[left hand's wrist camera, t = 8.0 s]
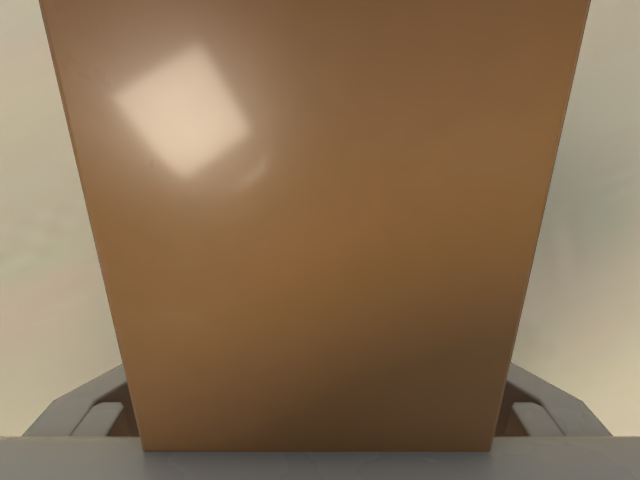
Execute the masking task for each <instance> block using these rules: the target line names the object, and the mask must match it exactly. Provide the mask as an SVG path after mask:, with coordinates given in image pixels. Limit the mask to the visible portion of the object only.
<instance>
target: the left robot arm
mask: <svg viewBox="0 0 640 480" xmlns="http://www.w3.org/2000/svg"><path fill="white" fill-rule="evenodd" d="M0 480H640V436H613V435H612V434H611V433H610V432H609V431H608V430H607V429H606V427H605V426H604V425H603V424H602V423H601V422H600V421H599V419H598V418H597V417H596V416H595V415H594V414H593V413H592V411H591V410H590V409H589V408H588V407H587V406H586V405H585V404H584V402H583V401H581V400H579V399H577V398H576V397H574V396H572V395H570V394H568V393H566V392H564V391H563V390H561V389H559V388H557V387H555V386H553V385H552V384H550V383H548V382H546V381H544V380H542V379H541V378H539V377H537V376H535V375H533V374H531V373H530V372H528V371H526V370H524V369H522V368H520V367H519V366H517V365H515V364H513V363H511V362H510V367H509V371H508V376H507V380H506V385H505V389H504V394H503V398H502V403H501V407H500V412H499V416H498V421H497V425H496V430H495V434H494V439H493V443H492V448H491V451H488V452H145V451H143V448H142V444H141V440H140V435H139V431H138V427H137V423H136V418H135V414H134V410H133V405H132V401H131V397H130V392H129V388H128V384H127V379H126V375H125V371H124V366H123V364H121V365H119V366H117V367H115V368H114V369H112V370H110V371H108V372H106V373H104V374H102V375H101V376H99V377H97V378H95V379H93V380H91V381H89V382H88V383H86V384H84V385H82V386H80V387H78V388H76V389H75V390H73V391H71V392H69V393H67V394H65V395H63V396H62V397H60V398H58V399H56V400H54V401H53V402H52V403H51V404H50V405H49V406H48V408H47V409H46V410H45V411H44V412H43V413H42V414H41V415H40V416H39V417H38V419H37V420H36V421H35V422H34V423H33V424H32V425H31V426H30V427H29V429H28V430H27V431H26V432H25V433H24V434H23V435H22V436H21V437H0Z"/></svg>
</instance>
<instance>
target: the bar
mask: <svg viewBox="0 0 640 480" xmlns="http://www.w3.org/2000/svg"><path fill="white" fill-rule="evenodd" d="M590 2H591V0H39V4H40V8H41V13H42V17H43V21H44V26H45V30H46V34H47V39H48V43H49V47H50V51H51V56H52V60H53V64H54V69H55V73H56V77H57V82H58V86H59V90H60V95H61V99H62V103H63V108H64V112H65V116H66V121H67V125H68V129H69V133H70V138H71V142H72V146H73V151H74V155H75V159H76V164H77V168H78V172H79V177H80V181H81V185H82V190H83V194H84V198H85V202H86V207H87V211H88V215H89V220H90V224H91V228H92V233H93V237H94V241H95V246H96V250H97V254H98V259H99V263H100V267H101V272H102V276H103V280H104V284H105V289H106V293H107V297H108V302H109V306H110V310H111V315H112V319H113V323H114V328H115V332H116V336H117V341H118V345H119V349H120V353H121V358H122V362H123V366H124V371H125V375H126V379H127V384H128V388H129V392H130V397H131V401H132V405H133V410H134V414H135V418H136V423H137V427H138V431H139V435H140V440H141V444H142V448H143V451H145V452H488V451H491V448H492V443H493V439H494V434H495V430H496V425H497V421H498V416H499V412H500V407H501V403H502V398H503V394H504V389H505V385H506V380H507V376H508V371H509V367H510V362H511V358H512V353H513V349H514V344H515V340H516V335H517V331H518V326H519V322H520V317H521V313H522V308H523V304H524V299H525V295H526V290H527V286H528V281H529V277H530V272H531V268H532V263H533V259H534V254H535V250H536V245H537V241H538V236H539V232H540V227H541V223H542V218H543V214H544V209H545V205H546V200H547V196H548V191H549V187H550V182H551V178H552V173H553V169H554V164H555V160H556V155H557V151H558V146H559V142H560V137H561V133H562V128H563V124H564V119H565V115H566V110H567V106H568V101H569V97H570V92H571V88H572V83H573V79H574V74H575V70H576V65H577V61H578V56H579V52H580V47H581V43H582V38H583V33H584V29H585V24H586V20H587V15H588V11H589V6H590Z"/></svg>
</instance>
